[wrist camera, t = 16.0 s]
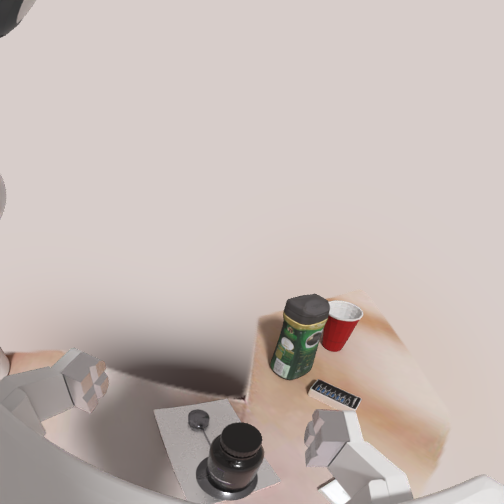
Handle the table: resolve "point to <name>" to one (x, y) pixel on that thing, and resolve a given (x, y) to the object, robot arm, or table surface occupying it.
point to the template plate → (202, 449)
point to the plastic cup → (340, 324)
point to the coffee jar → (300, 335)
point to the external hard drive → (334, 493)
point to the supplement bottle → (235, 458)
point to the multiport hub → (333, 396)
